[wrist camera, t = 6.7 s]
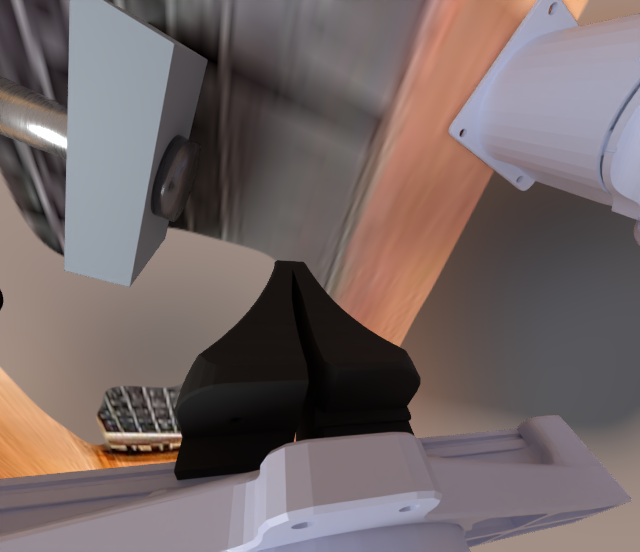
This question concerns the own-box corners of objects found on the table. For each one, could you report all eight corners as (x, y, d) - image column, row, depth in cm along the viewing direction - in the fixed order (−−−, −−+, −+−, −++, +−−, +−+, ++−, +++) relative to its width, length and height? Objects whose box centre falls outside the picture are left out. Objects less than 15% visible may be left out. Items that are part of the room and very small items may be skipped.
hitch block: (207, 59, 14) (174, 43, 9) (164, 238, 19) (129, 287, 15) (145, 21, 13) (70, -20, 8) (118, 223, 18) (64, 270, 14)
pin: (205, 138, 16) (185, 153, 12) (187, 204, 18) (165, 235, 14) (7, 39, 12) (-110, 16, 8) (14, 137, 14) (-77, 152, 10)
